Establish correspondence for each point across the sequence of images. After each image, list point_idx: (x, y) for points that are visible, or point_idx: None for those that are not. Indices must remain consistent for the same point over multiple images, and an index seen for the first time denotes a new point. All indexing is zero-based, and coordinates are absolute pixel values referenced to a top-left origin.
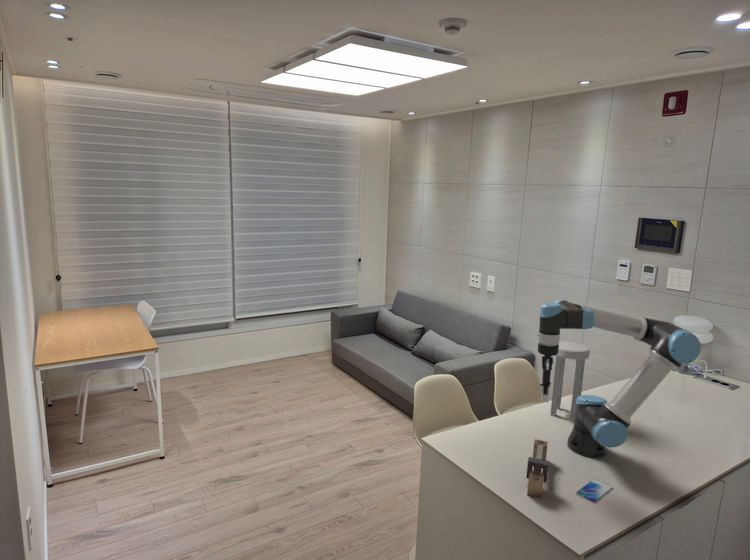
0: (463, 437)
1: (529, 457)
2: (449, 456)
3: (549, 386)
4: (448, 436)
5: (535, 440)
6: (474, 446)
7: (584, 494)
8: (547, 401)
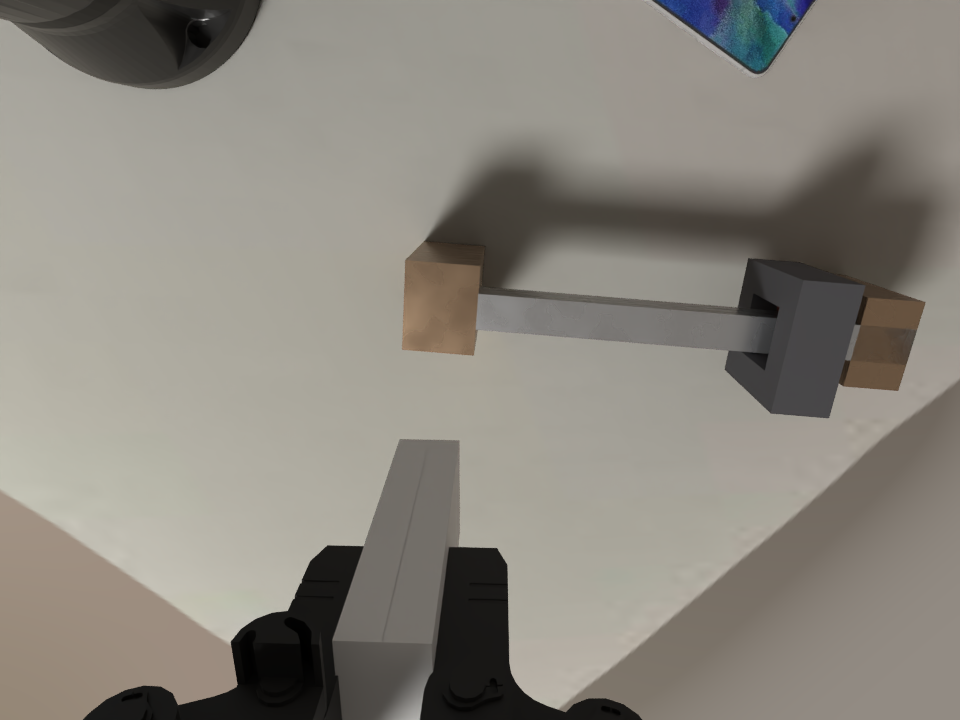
0: None
1: (781, 408)
2: (572, 692)
3: (622, 717)
4: None
5: (421, 344)
6: None
7: (766, 22)
8: (458, 456)
